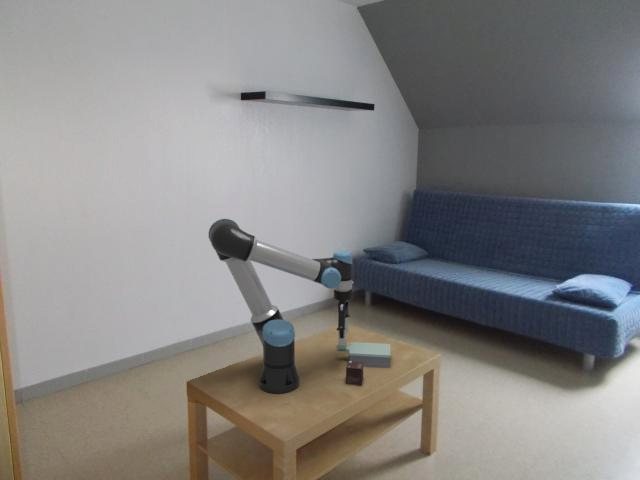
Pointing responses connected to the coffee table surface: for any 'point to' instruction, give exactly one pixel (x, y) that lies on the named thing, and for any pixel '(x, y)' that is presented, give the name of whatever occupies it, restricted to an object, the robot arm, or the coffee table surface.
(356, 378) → the box
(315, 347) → the coffee table surface
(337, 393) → the coffee table surface
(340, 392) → the coffee table surface
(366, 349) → the lid
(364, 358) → the tub
